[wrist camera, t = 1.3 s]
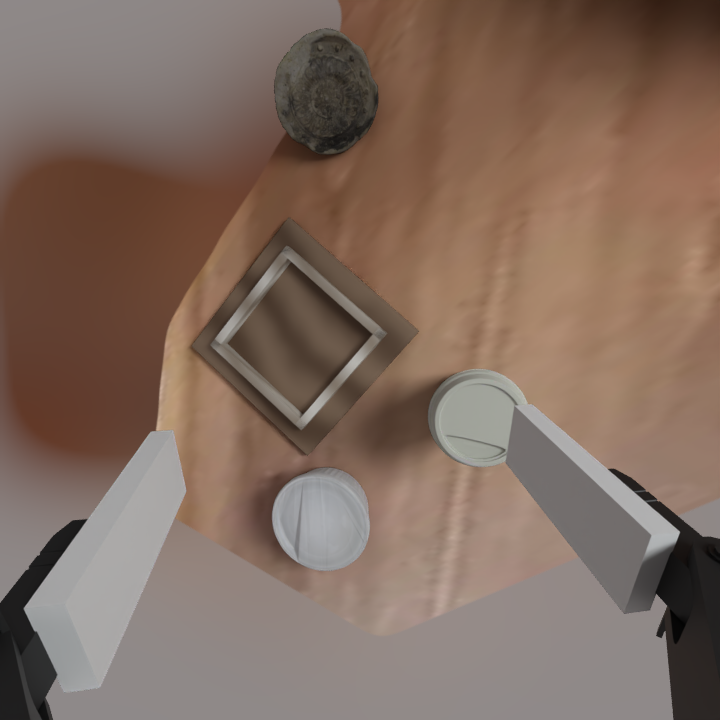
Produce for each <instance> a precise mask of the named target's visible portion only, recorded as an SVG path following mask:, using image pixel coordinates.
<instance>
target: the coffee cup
mask: <svg viewBox="0 0 720 720" xmlns="http://www.w3.org/2000/svg"><path fill="white" fill-rule="evenodd" d="M516 405H528V403H527V401H526V398H525V396H524V395H523V393H522V391H521V390H520V389H519V388H518V386H517V385H516V384H515V383H514V382H512V381H511V380H510V379H509V378H507V377H505V376H504V375H502V374H499V373H497V372H494V371H490V370H485V369H471V370H466V371H462V372H459V373H457V374H455V375H453V376H451V377H449V378H448V379H446V380H445V381H444V382H443V383H442V384H441V385H440V386H439V387H438V388H437V390H436V391H435V393H434V395H433V396H432V399H431V401H430V404H429V409H428V424H429V428H430V432H431V434H432V437H433V439H434V440H435V442H436V443H437V445H438V446H439V447H440V449H441V450H442V451H443V452H444V453H445V454H446V455H448V456H449V457H450V458H452V459H453V460H455V461H457V462H459V463H462V464H465V465H468V466H474V467H489V466H494V465H498V464H500V463H503V462H505V461H506V456H507V450H508V443H509V437H510V430H511V424H512V417H513V411H514V406H516Z"/></svg>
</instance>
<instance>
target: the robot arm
mask: <svg viewBox="0 0 720 720" xmlns="http://www.w3.org/2000/svg"><path fill="white" fill-rule="evenodd" d="M505 463H506V464H507V465H508V466H509V468H510V469H511V470H512V472H513V473H514V474H515V475H516V477H517V478H518V479H519V481H520V482H521V483H522V484H523V486H524V487H525V488H526V489H527V491H528V492H529V493H530V495H531V496H532V497H533V498H534V500H535V501H536V502H537V504H538V505H539V506H540V507H541V509H542V510H543V511H544V512H545V514H546V515H547V516H548V518H549V519H550V520H551V521H552V523H553V524H554V525H555V527H556V528H557V529H558V530H559V532H560V533H561V534H562V535H563V537H564V538H565V539H566V541H567V542H568V543H569V544H570V546H571V547H572V548H573V549H574V551H575V552H576V553H577V555H578V556H579V557H580V558H581V560H582V561H583V562H584V563H585V565H586V566H587V567H588V568H589V570H590V571H591V572H592V574H593V575H594V576H595V578H596V579H597V580H598V581H599V583H600V584H601V585H602V587H603V588H604V589H605V590H606V592H607V593H608V594H609V595H610V597H611V598H612V599H613V601H614V602H615V603H616V604H617V606H618V607H619V608H620V610H621V611H622V612H623V613H624V614H626V613H633V612H640V611H647V610H650V608H651V606H652V603H653V601H654V598H655V595H656V594H657V595H658V596H659V597H660V598H661V599H662V600H663V601H664V603H665V604H666V605H667V608H666V611H665V613H664V615H663V618H662V620H661V623H660V625H659V628H658V631H657V635H656V636H658V637H660V638H662V636H663V633H664V631H666V640H667V653H668V664H669V675H670V684H671V685H670V686H671V697H672V707H673V718H674V720H720V539H718V538H713V537H702V536H701V535H700V534H699V533H697V532H696V531H695V530H694V529H693V528H691V527H690V526H689V525H688V524H686V523H685V522H684V521H683V520H682V519H680V518H679V517H678V516H677V515H676V514H675V513H673V512H672V511H671V510H670V509H668V508H667V507H666V506H665V505H664V504H662V503H661V502H660V501H659V502H658V501H657V499H656V498H655V497H654V496H653V495H651V494H650V493H649V492H646V491H645V489H644V488H643V487H642V486H641V485H639V484H638V483H637V482H636V481H635V480H633V479H632V478H631V477H629V476H627V475H625V474H623V473H621V472H619V471H617V470H616V469H607V468H605V467H604V466H603V465H602V464H601V463H600V462H598V461H597V460H596V459H595V458H594V457H593V456H592V455H590V454H589V453H588V452H587V451H586V450H585V449H583V448H582V447H581V446H580V445H579V444H578V443H576V442H575V441H574V440H573V439H572V438H571V437H570V436H568V435H567V434H566V433H565V432H564V431H563V430H561V429H560V428H559V427H558V426H557V425H556V424H554V423H553V422H552V421H551V420H550V419H549V418H547V417H546V416H545V415H544V414H543V413H542V412H541V411H539V410H538V409H537V408H536V407H535V406H534V405H532V404H530V405H516V406H514V411H513V417H512V424H511V430H510V437H509V443H508V450H507V456H506V462H505ZM185 493H186V487H185V482H184V477H183V473H182V468H181V464H180V459H179V455H178V450H177V446H176V441H175V436H174V432H173V430H167V431H153V432H150V434H149V435H148V436H147V438H146V439H145V441H144V442H143V443H142V445H141V446H140V448H139V449H138V450H137V452H136V453H135V455H134V456H133V457H132V459H131V460H130V461H129V463H128V464H127V466H126V467H125V468H124V470H123V471H122V473H121V474H120V476H119V477H118V478H117V480H116V481H115V482H114V484H113V485H112V487H111V488H110V489H109V491H108V492H107V493H106V495H105V496H104V498H103V499H102V501H101V502H100V503H99V505H98V506H97V507H96V509H95V510H94V512H93V513H92V514H91V516H90V517H89V518H88V519H85V520H73V521H71V522H70V523H69V524H68V525H66V526H65V527H64V528H62V529H61V530H60V531H59V532H57V533H56V534H55V535H54V536H53V537H52V538H51V539H50V541H49V542H48V543H47V544H46V546H45V547H44V548H43V550H42V551H41V552H40V556H37V557H36V558H35V560H34V561H33V562H32V563H31V565H30V566H29V569H28V570H26V571H25V572H24V574H23V575H22V576H21V577H20V579H19V580H18V581H17V582H16V584H15V585H14V586H13V587H12V589H11V590H10V591H9V593H8V594H7V595H6V596H5V598H4V599H3V600H2V601H1V603H0V720H53V718H52V714H51V711H50V707H49V704H48V702H47V700H46V698H45V697H46V695H47V693H48V691H49V690H50V688H51V686H52V684H53V682H54V680H55V679H56V677H57V679H58V681H59V683H60V686H61V687H62V690H63V692H64V693H66V692H73V691H80V690H88V689H95V688H100V687H101V685H102V682H103V680H104V678H105V675H106V673H107V671H108V669H109V666H110V664H111V662H112V659H113V657H114V655H115V653H116V650H117V648H118V646H119V643H120V641H121V639H122V637H123V634H124V632H125V630H126V628H127V625H128V623H129V621H130V618H131V616H132V614H133V612H134V609H135V607H136V605H137V603H138V600H139V598H140V596H141V593H142V591H143V589H144V587H145V584H146V582H147V580H148V577H149V575H150V573H151V570H152V568H153V566H154V564H155V561H156V559H157V557H158V555H159V552H160V550H161V548H162V546H163V543H164V541H165V539H166V536H167V534H168V532H169V530H170V527H171V525H172V523H173V520H174V518H175V516H176V514H177V511H178V509H179V507H180V505H181V502H182V500H183V498H184V496H185Z"/></svg>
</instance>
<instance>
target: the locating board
mask: <svg viewBox="0 0 720 720" xmlns="http://www.w3.org/2000/svg"><path fill="white" fill-rule="evenodd" d="M418 332H419V331H418V330H417V329H416V328H415V327H414V326H413V325H412V324H410V323H409V322H408V321H407V320H406V319H405V318H404V317H403V316H401V315H400V314H399V313H398V312H397V311H396V310H395V309H393V308H392V307H391V306H390V305H389V304H388V303H387V302H385V301H384V300H383V299H382V298H381V297H380V296H379V295H377V294H376V293H375V292H374V291H373V290H372V289H371V288H369V287H368V286H367V285H366V284H365V283H364V282H363V281H361V280H360V279H359V278H358V277H357V276H356V275H355V274H353V273H352V272H351V271H350V270H349V269H348V268H347V267H345V266H344V265H343V264H342V263H341V262H340V261H339V260H338V259H336V258H335V257H334V256H333V255H332V254H331V253H330V252H328V251H327V250H326V249H325V248H324V247H323V246H322V245H320V244H319V243H318V242H317V241H316V240H315V239H314V238H312V237H311V236H310V235H309V234H308V233H307V232H306V231H304V230H303V229H302V228H301V227H300V226H299V225H298V224H296V223H295V222H294V221H293V220H292V219H291V218H288V219H287V220H286V222H285V223H284V224H283V225H282V227H281V228H280V229H279V231H278V232H277V233H276V235H275V236H274V237H273V239H272V240H271V241H270V243H269V244H268V245H267V247H266V248H265V249H264V251H263V252H262V253H261V255H260V256H259V257H258V259H257V260H256V261H255V263H254V264H253V265H252V267H251V268H250V269H249V271H248V272H247V273H246V275H245V276H244V277H243V279H242V280H241V281H240V282H239V284H238V285H237V286H236V288H235V289H234V290H233V292H232V293H231V294H230V296H229V297H228V298H227V300H226V301H225V302H224V304H223V305H222V306H221V308H220V309H219V310H218V312H217V313H216V314H215V316H214V317H213V318H212V320H211V321H210V322H209V324H208V325H207V326H206V328H205V329H204V330H203V332H202V333H201V334H200V336H199V337H198V338H197V339H196V341H195V342H194V343H193V345H192V347H193V348H194V349H195V350H196V351H197V352H198V353H199V354H200V355H201V356H202V357H203V358H205V359H206V360H207V361H208V362H209V363H210V364H211V365H212V366H213V367H214V368H215V369H216V370H217V371H218V372H219V373H220V374H222V375H223V376H224V377H225V378H226V379H227V380H228V381H229V382H230V383H231V384H232V385H233V386H234V387H235V388H236V389H237V390H238V391H240V392H241V393H242V394H243V395H244V396H245V397H246V398H247V399H248V400H249V401H250V402H251V403H252V404H253V405H254V406H255V407H256V408H258V409H259V410H260V411H261V412H262V413H263V414H264V415H265V416H266V417H267V418H268V419H269V420H270V421H271V422H272V423H273V424H274V425H276V426H277V427H278V428H279V429H280V430H281V431H282V432H283V433H284V434H285V435H286V436H287V437H288V438H289V439H290V440H291V441H293V442H294V443H295V444H296V445H297V446H298V447H299V448H300V449H301V450H302V451H303V452H304V453H305V454H306V455H307V456H308V455H309V454H310V453H311V452H312V450H313V449H314V448H315V447H316V446H317V445H318V444H319V443H320V441H321V440H322V439H323V438H324V437H325V436H326V435H327V434H328V433H329V431H330V430H331V429H332V428H333V427H334V426H335V425H336V424H337V422H338V421H339V420H340V419H341V418H342V417H343V416H344V415H345V414H346V412H347V411H348V410H349V409H350V408H351V407H352V406H353V405H354V403H355V402H356V401H357V400H358V399H359V398H360V397H361V396H362V395H363V393H364V392H365V391H366V390H367V389H368V388H369V387H370V386H371V384H372V383H373V382H374V381H375V380H376V379H377V378H378V377H379V376H380V374H381V373H382V372H383V371H384V370H385V369H386V368H387V367H388V365H389V364H390V363H391V362H392V361H393V360H394V359H395V358H396V357H397V355H398V354H399V353H400V352H401V351H402V350H403V349H404V348H405V346H406V345H407V344H408V343H409V342H410V341H411V340H412V339H413V338H414V336H415V335H416V334H417V333H418Z"/></svg>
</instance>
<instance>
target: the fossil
mask: <svg viewBox="0 0 720 720" xmlns="http://www.w3.org/2000/svg"><path fill="white" fill-rule="evenodd" d="M274 88H275V89H274V93H275V102H276V109H277V113H278V117H279V119H280V122H281V123H282V126H283V128H284V129H285V130H286V131H287V133H288V134H289V135H290V136H291V138H292V139H293V140H294V141H296V142H298V143H301V144H303V145H305V146H307V147H308V148H310V149H311V150H312V151H314V152H316V153H318V154H326V155H330V154H336V153H341V152H343V151H346V150H348V149H349V148H350V147H351V146H353V145H354V144H355V143H356V142H357V141H358V140H360V139H361V138H362V136H364V135H365V134H366V133H367V132H368V130H369V128H370V127H371V125H372V123H373V120H374V118H375V115H376V111H377V107H378V86H377V84H376V83H375V82H374V80H373V78H372V77H371V71H370V68H369V64H368V60H367V57H366V55H365V53H364V51H363V50H362V48H361V47H360V46H358V45H356V44H354V43H353V42H352V41H351V40H350V39H349V38H348V37H347V36H345V35H344V34H343V33H341V32H339V31H336V30H333V29H327V28H326V29H319V30H316V31H314V32H311V33H309V34H307V35H305V36H303V37H302V38H301V39H300V40H299V41H298V42H297V43H295V44H294V45H293V46H292V47H291V50H290V51H289V52H287V54H286V55H285V56H284V58H283V59H282V61H281V62H280V64H279V66H278V68H277V71H276V77H275V85H274Z"/></svg>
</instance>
